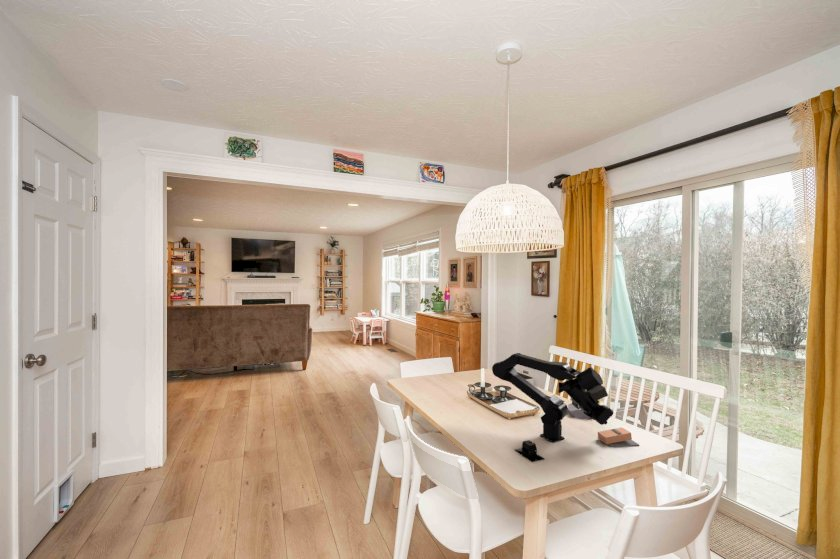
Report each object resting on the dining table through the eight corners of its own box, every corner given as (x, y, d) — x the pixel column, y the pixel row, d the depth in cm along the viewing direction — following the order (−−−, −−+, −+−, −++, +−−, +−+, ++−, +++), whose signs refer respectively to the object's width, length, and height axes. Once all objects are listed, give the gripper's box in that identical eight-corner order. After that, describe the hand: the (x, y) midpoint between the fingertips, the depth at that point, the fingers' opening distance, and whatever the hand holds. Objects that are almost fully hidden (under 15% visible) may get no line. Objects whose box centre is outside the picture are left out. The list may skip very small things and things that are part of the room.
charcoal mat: (611, 446, 134) (611, 445, 134) (597, 437, 142) (597, 436, 142) (639, 445, 136) (639, 444, 136) (624, 436, 143) (624, 435, 143)
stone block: (572, 422, 162) (596, 419, 161) (570, 411, 163) (594, 408, 161) (567, 413, 174) (589, 411, 172) (565, 403, 174) (587, 400, 173)
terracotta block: (605, 436, 136) (630, 431, 137) (597, 431, 140) (621, 426, 142) (606, 444, 136) (631, 439, 137) (598, 438, 141) (622, 433, 142)
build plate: (550, 462, 123) (550, 448, 123) (532, 466, 120) (532, 452, 120) (525, 446, 135) (525, 434, 135) (508, 450, 132) (509, 437, 132)
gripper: (608, 385, 128) (638, 416, 129) (579, 371, 147) (605, 399, 148) (586, 408, 127) (616, 440, 128) (560, 392, 146) (586, 419, 147)
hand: (606, 423), depth 138 cm, fingers closed
